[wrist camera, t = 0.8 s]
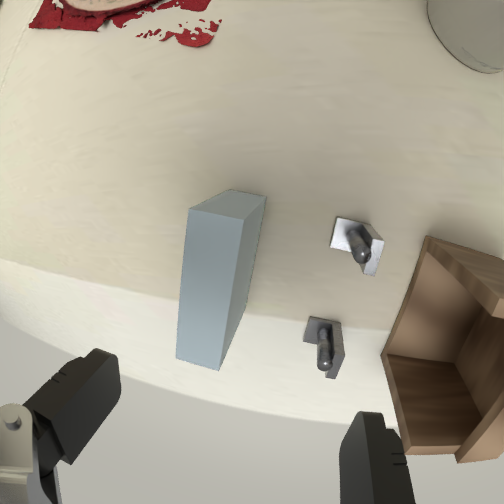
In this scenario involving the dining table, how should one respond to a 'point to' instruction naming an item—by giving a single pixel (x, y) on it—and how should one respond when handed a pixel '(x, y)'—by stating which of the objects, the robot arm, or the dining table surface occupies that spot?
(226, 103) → the dining table surface
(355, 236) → the hinge clips
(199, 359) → the door
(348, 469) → the robot arm
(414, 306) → the cabinet
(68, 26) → the plate with food
